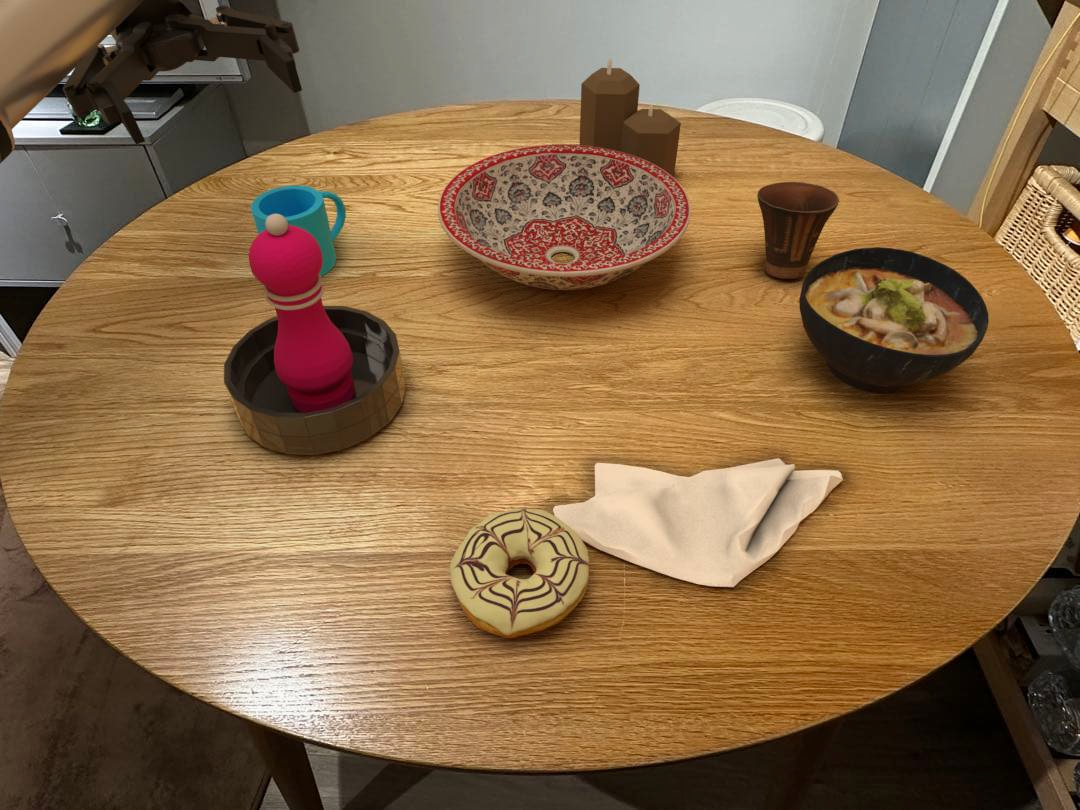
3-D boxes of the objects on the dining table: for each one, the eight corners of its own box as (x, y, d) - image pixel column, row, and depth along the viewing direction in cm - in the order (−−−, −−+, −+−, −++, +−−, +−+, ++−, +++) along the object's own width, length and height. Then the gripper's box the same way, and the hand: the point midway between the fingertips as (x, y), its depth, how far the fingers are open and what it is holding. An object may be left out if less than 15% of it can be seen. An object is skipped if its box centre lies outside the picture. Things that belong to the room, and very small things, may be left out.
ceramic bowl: (608, 182, 109) (612, 127, 103) (730, 292, 90) (743, 232, 84) (411, 230, 100) (403, 172, 94) (500, 363, 81) (497, 301, 75)
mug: (300, 289, 90) (283, 228, 85) (254, 267, 94) (235, 207, 88) (372, 244, 97) (361, 185, 92) (327, 224, 101) (314, 166, 95)
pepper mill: (324, 361, 80) (278, 184, 66) (375, 388, 77) (337, 209, 63) (270, 400, 76) (209, 220, 62) (321, 430, 73) (269, 249, 59)
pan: (273, 485, 69) (257, 443, 65) (218, 384, 79) (201, 342, 75) (434, 414, 75) (428, 372, 71) (364, 328, 85) (356, 287, 81)
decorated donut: (426, 582, 62) (421, 554, 59) (526, 509, 67) (525, 481, 64) (513, 672, 56) (511, 645, 53) (614, 585, 61) (617, 557, 59)
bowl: (756, 376, 79) (776, 297, 72) (822, 296, 89) (845, 220, 82) (924, 450, 72) (965, 370, 65) (976, 354, 81) (1017, 275, 74)
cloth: (555, 591, 61) (555, 575, 59) (551, 461, 71) (551, 444, 69) (883, 587, 61) (892, 571, 59) (834, 458, 71) (840, 441, 69)
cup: (782, 239, 98) (800, 165, 91) (834, 274, 92) (857, 198, 85) (727, 258, 95) (742, 184, 88) (778, 296, 89) (798, 219, 82)
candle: (551, 163, 113) (552, 57, 102) (630, 143, 117) (639, 40, 107) (598, 205, 104) (604, 94, 94) (681, 182, 108) (696, 74, 98)
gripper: (278, 24, 83) (362, 98, 71) (34, 95, 75) (83, 192, 63) (256, -52, 78) (343, 13, 66) (-10, 15, 69) (34, 104, 57)
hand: (217, 101), depth 64 cm, fingers open, 13 cm apart
